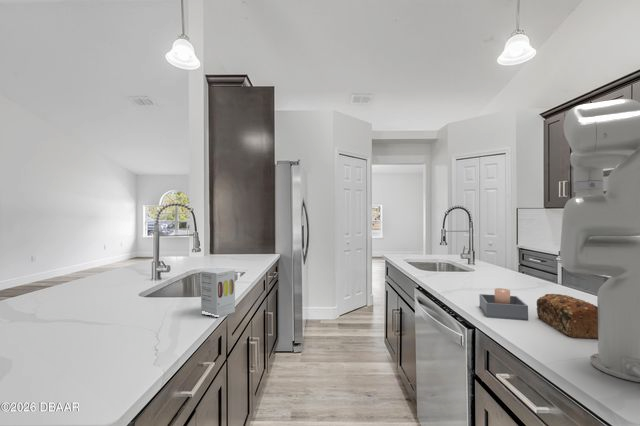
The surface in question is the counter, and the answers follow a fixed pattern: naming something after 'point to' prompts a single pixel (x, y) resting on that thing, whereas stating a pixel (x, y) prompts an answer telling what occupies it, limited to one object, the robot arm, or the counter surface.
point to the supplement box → (218, 291)
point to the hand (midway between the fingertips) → (589, 238)
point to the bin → (503, 308)
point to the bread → (569, 315)
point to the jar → (502, 296)
